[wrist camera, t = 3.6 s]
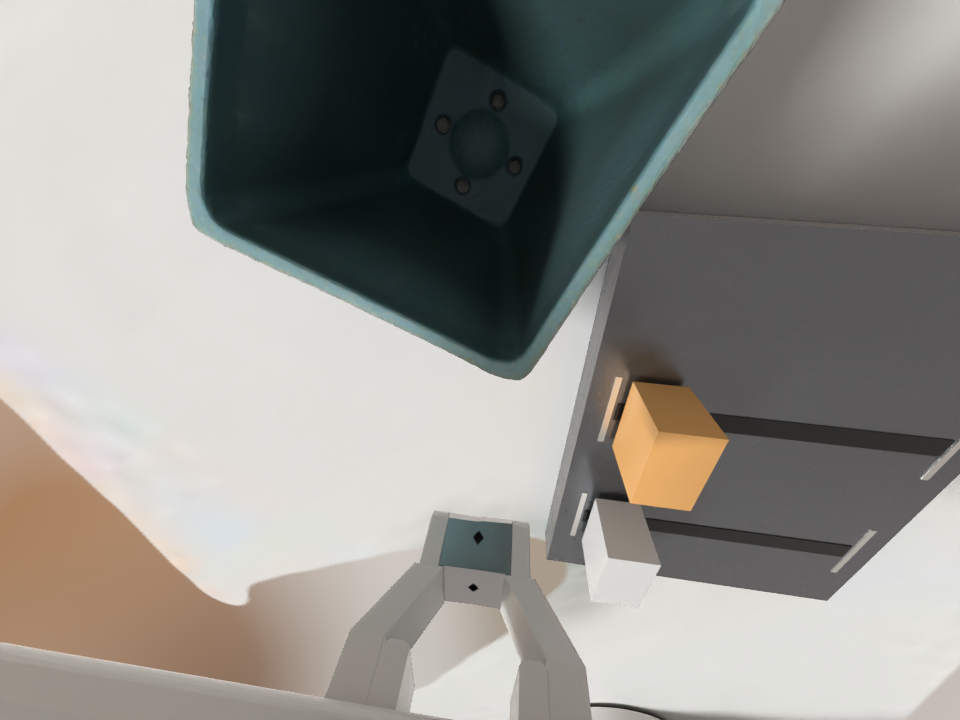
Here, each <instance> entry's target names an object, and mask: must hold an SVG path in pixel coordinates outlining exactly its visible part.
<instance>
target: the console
mask: <svg viewBox="0 0 960 720" xmlns="http://www.w3.org/2000/svg"><path fill="white" fill-rule="evenodd" d="M633 381H634V382H644V383H653V384H663V385H673V386H682V387H690V389H691V390H692V391H693V393H694V394H695V395H696V397H697V398H698V399H699V401H700V402H701V403H702V405H703V406H704V407H705V409H706V410H707V411H708V413H709V414H710V415H711V416H712V418H713V419H714V420H715V422H716V423H717V424H718V426H719V427H720V428H721V430H722V431H723V432H724V434H725V435H726V436H727V438H728V439H729V441H728V443H727V445H726V447H725V448H724V450H723V452H722V454H721V456H720V458H719V460H718V461H717V463H716V465H715V467H714V469H713V471H712V473H711V474H710V476H709V478H708V480H707V482H706V484H705V485H704V487H703V489H702V491H701V493H700V495H699V497H698V498H697V500H696V502H695V504H694V506H693V508H692V510H691V511H685V510H677V509H670V508H662V507H655V506H647V505H641V508H642V511H643V514H644V517H645V520H646V523H647V526H648V529H649V531H650V534H651V537H652V540H653V543H654V546H655V549H656V552H657V555H658V558H659V561H660V564H661V567H660V569H659V571H658V572H657V574H656V576H663V577H669V578H676V579H683V580H690V581H697V582H703V583H710V584H717V585H724V586H731V587H737V588H744V589H751V590H758V591H764V592H771V593H778V594H785V595H792V596H798V597H805V598H812V599H819V600H826V601H827V600H828V599H829V598H830V597H831V596H832V595H833V594H834V593H836V592H837V591H838V590H839V589H840V588H841V587H842V586H843V585H844V584H845V583H846V582H847V581H848V580H849V579H850V578H851V577H852V576H853V575H854V574H855V573H856V572H857V571H858V570H860V569H861V568H862V567H863V566H864V565H865V564H866V563H867V562H868V561H869V560H870V559H871V558H872V557H873V556H874V555H875V554H876V553H877V552H878V551H879V550H880V549H881V548H883V547H884V546H885V545H886V544H887V543H888V542H889V541H890V540H891V539H892V538H893V537H894V536H895V535H896V534H897V533H898V532H899V531H900V530H901V529H902V528H903V527H904V526H905V525H907V524H908V523H909V522H910V521H911V520H912V519H913V518H914V517H915V516H916V515H917V514H918V513H919V512H920V511H921V510H922V509H923V508H924V507H925V506H926V505H927V504H928V503H930V502H931V501H932V500H933V499H934V498H935V497H936V496H937V495H938V494H939V493H940V492H941V491H942V490H943V489H944V488H945V487H946V486H947V485H948V484H949V483H950V482H951V481H952V480H954V479H955V478H956V477H957V476H958V475H959V474H960V231H946V230H931V229H916V228H901V227H885V226H870V225H855V224H840V223H825V222H809V221H794V220H779V219H764V218H748V217H733V216H718V215H703V214H687V213H672V212H657V211H642V210H639V211H638V212H637V214H636V215H635V217H634V218H633V220H632V221H631V223H630V224H629V226H628V228H627V229H626V231H625V232H624V234H623V235H622V237H621V239H620V240H619V241H618V242H617V243H616V244H615V246H614V248H613V250H612V251H611V253H610V256H609V261H608V265H607V269H606V274H605V278H604V282H603V287H602V291H601V295H600V299H599V304H598V308H597V312H596V317H595V321H594V325H593V330H592V334H591V338H590V343H589V347H588V351H587V355H586V360H585V364H584V368H583V373H582V377H581V381H580V386H579V390H578V394H577V398H576V403H575V407H574V411H573V416H572V420H571V424H570V429H569V433H568V437H567V442H566V446H565V450H564V454H563V459H562V463H561V467H560V472H559V476H558V480H557V485H556V489H555V493H554V497H553V502H552V506H551V510H550V515H549V519H548V523H547V528H546V532H545V536H546V555H547V560H554V561H561V562H567V563H574V564H581V565H585V559H584V552H583V546H582V538H583V535H584V532H585V529H586V526H587V523H588V520H589V516H590V513H591V510H592V507H593V504H594V501H595V498H599V499H606V500H614V501H622V502H629V498H628V495H627V492H626V489H625V486H624V482H623V479H622V476H621V473H620V470H619V466H618V463H617V460H616V457H615V454H614V451H613V447H612V445H613V442H614V439H615V436H616V433H617V430H618V426H619V423H620V420H621V417H622V414H623V411H624V408H625V405H626V402H627V398H628V395H629V392H630V389H631V386H632V383H633ZM629 503H630V502H629Z"/></svg>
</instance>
